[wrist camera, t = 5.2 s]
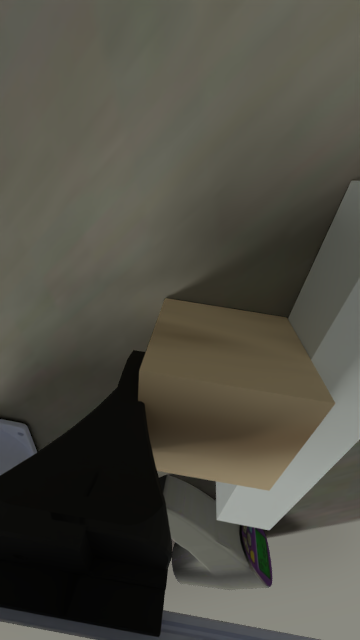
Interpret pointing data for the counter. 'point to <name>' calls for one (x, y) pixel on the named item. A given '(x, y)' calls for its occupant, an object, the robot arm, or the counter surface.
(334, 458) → the board
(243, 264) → the counter surface
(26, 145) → the counter surface
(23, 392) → the counter surface
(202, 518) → the infrared thermometer
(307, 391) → the block
